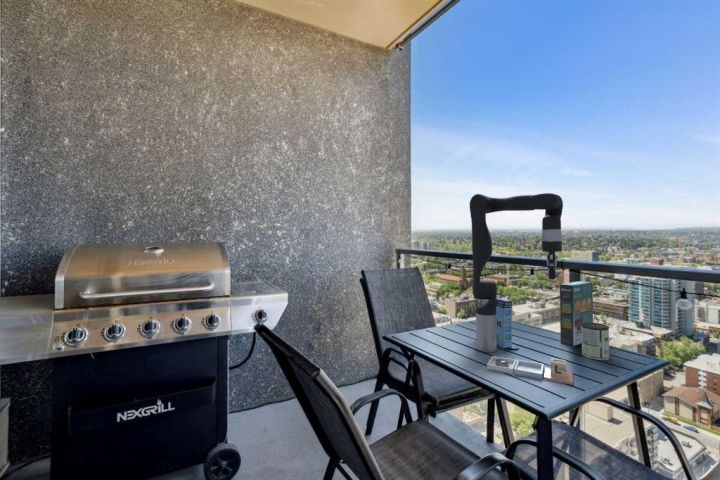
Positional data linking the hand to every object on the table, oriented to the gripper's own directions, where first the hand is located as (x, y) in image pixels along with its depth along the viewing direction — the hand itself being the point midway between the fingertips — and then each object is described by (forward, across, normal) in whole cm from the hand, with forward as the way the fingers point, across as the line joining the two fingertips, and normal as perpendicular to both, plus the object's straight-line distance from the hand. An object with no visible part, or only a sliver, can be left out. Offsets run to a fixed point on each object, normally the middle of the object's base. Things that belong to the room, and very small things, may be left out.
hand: (552, 278), depth 143 cm
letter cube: (+35, +16, +2) cm, 39 cm away
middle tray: (+36, +16, -8) cm, 40 cm away
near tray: (+36, +16, -18) cm, 43 cm away
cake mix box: (+36, -43, +10) cm, 57 cm away
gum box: (+36, -20, -26) cm, 49 cm away
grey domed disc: (+36, +16, -18) cm, 43 cm away
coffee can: (+36, -19, +16) cm, 44 cm away
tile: (+36, +16, +2) cm, 40 cm away
